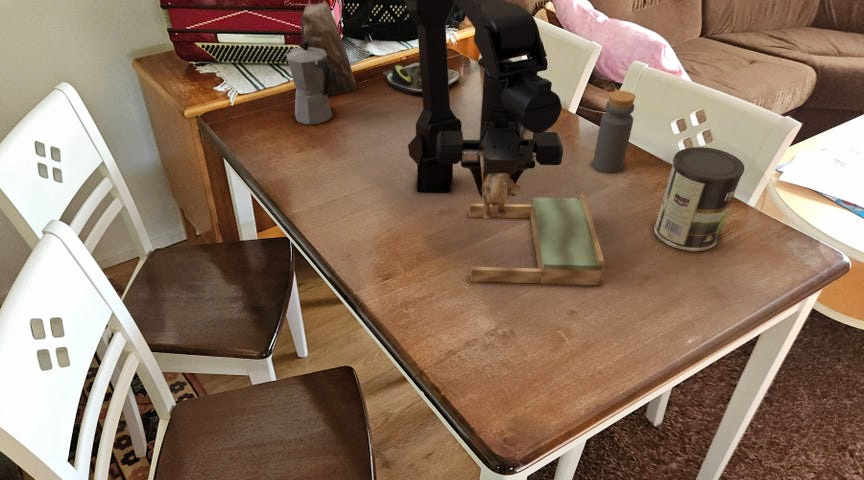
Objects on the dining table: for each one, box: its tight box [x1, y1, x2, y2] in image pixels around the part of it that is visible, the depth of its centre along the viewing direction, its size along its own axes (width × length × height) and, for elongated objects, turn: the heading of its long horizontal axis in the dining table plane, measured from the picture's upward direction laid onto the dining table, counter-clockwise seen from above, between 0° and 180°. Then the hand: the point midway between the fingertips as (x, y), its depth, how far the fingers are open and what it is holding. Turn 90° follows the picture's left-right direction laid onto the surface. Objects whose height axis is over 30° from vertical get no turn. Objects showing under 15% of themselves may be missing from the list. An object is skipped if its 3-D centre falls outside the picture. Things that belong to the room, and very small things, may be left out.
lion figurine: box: [478, 165, 522, 220], centre depth 99 cm, size 15×5×9 cm, turn 6°
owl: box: [299, 0, 357, 97], centre depth 156 cm, size 13×13×20 cm
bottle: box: [592, 90, 636, 174], centre depth 121 cm, size 6×6×15 cm
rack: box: [469, 193, 605, 286], centre depth 104 cm, size 20×19×5 cm
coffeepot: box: [285, 40, 333, 126], centre depth 142 cm, size 15×9×18 cm, turn 37°
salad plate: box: [382, 62, 460, 97], centre depth 161 cm, size 19×18×5 cm
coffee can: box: [653, 146, 745, 252], centre depth 103 cm, size 10×10×14 cm
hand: (493, 194), depth 100 cm, fingers closed on lion figurine, 4 cm apart
